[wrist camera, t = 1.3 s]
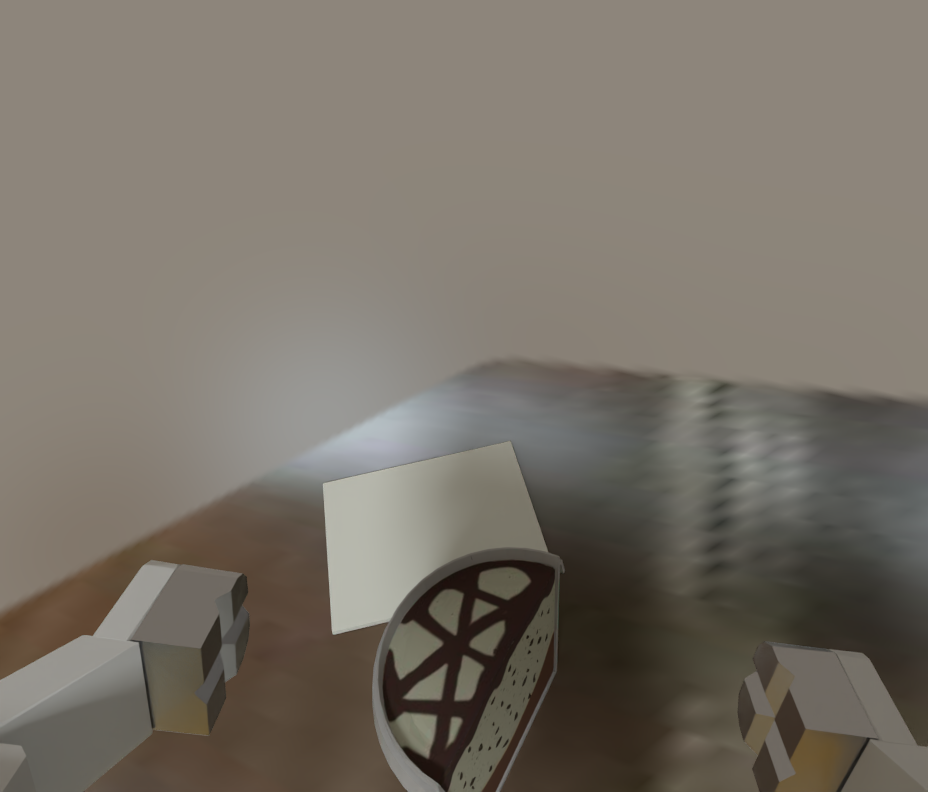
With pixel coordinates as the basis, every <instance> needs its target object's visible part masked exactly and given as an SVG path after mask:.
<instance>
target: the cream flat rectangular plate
mask: <svg viewBox="0 0 928 792" xmlns="http://www.w3.org/2000/svg"><path fill="white" fill-rule="evenodd" d="M323 492H324V508H325V524H326V540H327V556H328V572H329V588H330V604H331V620H332V633H333V635H335V634H339V633H343V632H347V631H351V630H356V629H360V628H364V627H368V626H372V625H377V624H381V623H385V622H389V621H390V619H391V618H392V616H393V614H394V612H395V611H396V609H397V607H398V606H399V605H400V603H401V602H402V601H403V599H404V598H405V597H406V596H407V594H408V593H409V592H410V591H411V590H412V589H413V588H414V587H415V586H416V585H417V584H418V583H419V582H420V581H421V580H422V579H424V578H425V577H426V576H428V575H429V574H430V573H432V572H433V571H434V570H436V569H437V568H439V567H441V566H443V565H445V564H446V563H448V562H450V561H452V560H454V559H457V558H459V557H462V556H465V555H467V554H470V553H474V552H478V551H482V550H486V549H494V548H504V547H514V548H529V549H535V550H541V551H545V552H548V550H547V547H546V544H545V541H544V538H543V535H542V532H541V529H540V526H539V523H538V520H537V517H536V514H535V511H534V508H533V506H532V503H531V500H530V497H529V494H528V491H527V488H526V485H525V482H524V479H523V476H522V473H521V470H520V467H519V464H518V461H517V458H516V455H515V452H514V449H513V447H512V444H511V441H508V442H504V443H499V444H495V445H490V446H486V447H481V448H477V449H473V450H468V451H464V452H459V453H455V454H450V455H446V456H442V457H437V458H433V459H428V460H424V461H419V462H415V463H411V464H406V465H402V466H397V467H393V468H388V469H384V470H380V471H375V472H371V473H366V474H362V475H357V476H353V477H349V478H344V479H340V480H335V481H331V482H326V483H323Z"/></svg>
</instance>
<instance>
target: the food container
mask: <svg viewBox="0 0 928 792" xmlns="http://www.w3.org/2000/svg"><path fill="white" fill-rule="evenodd" d="M564 572H565V569H564V565H563V561H562V559H560V556H558V555H555V554H551V553H548V552H545V551H541V550H535V549H529V548H514V547H504V548H494V549H486V550H482V551H478V552H474V553H470V554H467V555H465V556H462V557H459V558H457V559H454V560H452V561H450V562H448V563H446V564H445V565H443V566H441V567H439V568H437V569H436V570H434V571H433V572H432V573H430V574H429V575H428V576H426V577H425V578H424V579H422V580H421V581H420V582H419V583H418V584H417V585H416V586H415V587H414V588H413V589H412V590H411V591H410V592H409V593H408V594H407V596H406V597H405V598H404V599H403V601H402V602H401V603H400V605H399V606H398V607H397V609H396V611H395V612H394V614H393V616H392V618H391V619H390V621H389V623H388V625H387V627H386V628H385V631H384V633H383V636H382V639H381V641H380V644H379V646H378V650H377V655H376V659H375V664H374V671H373V687H372V703H373V713H374V722H375V728H376V731H377V735H378V738H379V742H380V746H381V748H382V750H383V753H384V755H385V757H386V759H387V761H388V763H389V766H390V768H391V769H392V771H393V772H394V774H395V775H396V776H397V778H398V779H399V781H400V782H401V784H402V785H403V787H404V788H405V789H406V790H407V791H408V792H500V791H501V788H502V786H503V784H504V782H505V780H506V778H507V776H508V774H509V772H510V769H511V767H512V765H513V763H514V761H515V759H516V757H517V755H518V753H519V750H520V748H521V746H522V744H523V742H524V740H525V738H526V736H527V734H528V731H529V729H530V727H531V725H532V723H533V721H534V719H535V717H536V714H537V712H538V710H539V708H540V706H541V704H542V702H543V700H544V698H545V695H546V693H547V691H548V689H549V687H550V685H551V683H552V681H553V679H554V676H555V674H556V672H557V655H558V618H559V581H560V573H563V574H564Z"/></svg>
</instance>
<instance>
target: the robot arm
mask: <svg viewBox="0 0 928 792" xmlns="http://www.w3.org/2000/svg"><path fill="white" fill-rule="evenodd" d="M247 594H248V586H247V577H246V576H245V575H244V574H242V573H235V572H229V571H222V570H216V569H209V568H203V567H197V566H190V565H184V564H182V565H179V564H173V563H166V562H160V561H154V560H151V561H149V562H148V563H146V564H145V565H143V566H142V567H141V569H140V570H139V572H138V573H137V574H136V576H135V577H134V579H133V580H132V581H131V583H130V584H129V586H128V587H127V588H126V590H125V591H124V593H123V594H122V595H121V597H120V598H119V600H118V601H117V603H116V604H115V605H114V607H113V608H112V610H111V611H110V612H109V614H108V615H107V617H106V618H105V619H104V621H103V622H102V624H101V625H100V626H99V628H98V629H97V631H96V632H95V633H94V635H93V636H87V635H82V636H80V637H79V638H77V639H75V640H73V641H71V642H69V643H68V644H66V645H64V646H62V647H60V648H58V649H57V650H55V651H53V652H51V653H49V654H48V655H46V656H44V657H42V658H40V659H38V660H37V661H35V662H33V663H31V664H29V665H27V666H26V667H24V668H22V669H20V670H18V671H16V672H15V673H13V674H11V675H9V676H7V677H5V678H4V679H2V680H0V792H83V791H84V790H85V789H87V788H88V787H89V786H90V785H91V784H93V783H94V782H95V781H96V780H97V779H99V778H100V777H101V776H102V775H103V774H104V773H106V772H107V771H108V770H109V769H110V768H112V767H113V766H114V765H115V764H116V763H118V762H119V761H120V760H121V759H122V758H124V757H125V756H126V755H127V754H128V753H130V752H131V751H132V750H133V749H134V748H136V747H137V746H138V745H139V744H140V743H141V742H143V741H144V740H145V739H146V738H147V737H149V736H150V735H151V734H152V730H160V731H169V732H179V733H188V734H198V735H207V736H209V735H210V733H211V731H212V728H213V726H214V724H215V722H216V719H217V717H218V715H219V713H220V711H221V708H222V706H223V704H224V702H225V699H226V689H225V682H226V681H227V680H229V679H230V678H232V677H233V676H235V675H236V674H237V672H238V670H239V667H240V665H241V663H242V660H243V658H244V654H245V650H246V646H247V642H248V637H249V627H250V622H249V613H248V612H247V610H246V609H245V608H244V607H243V606H242V604H243V602H244V600H245V598H246V596H247ZM753 661H754V664H755V667H756V669H757V671H756V672H754V673H753V674H751V675H750V676H748V677H746V678H745V679H744V681H743V684H742V687H741V690H740V693H739V700H738V718H739V726H740V730H741V733H742V736H743V740H744V742H745V743H746V744H747V745H748V746H749V747H750V748H751V749H752V750H753V751H754V752H755V753H756V754H757V755H758V757H757V759H756V761H755V764H754V766H753V768H752V769H753V772H754V776H755V779H756V782H757V785H758V788H759V791H760V792H928V747H924V746H918V745H917V744H916V742H915V740H914V738H913V736H912V735H911V733H910V731H909V729H908V727H907V726H906V724H905V722H904V720H903V718H902V717H901V715H900V713H899V711H898V709H897V708H896V706H895V704H894V702H893V700H892V699H891V697H890V695H889V693H888V691H887V690H886V688H885V686H884V684H883V682H882V681H881V679H880V677H879V675H878V673H877V672H876V670H875V668H874V666H873V664H872V663H871V661H870V659H869V658H868V657H866V656H865V655H864V654H863V653H858V652H850V651H841V650H833V649H828V650H827V649H823V648H815V647H806V646H798V645H790V644H782V643H773V642H765V641H764V642H763V643H762V644H760V645H759V646H758V647H757V650H756V652H755V654H754V657H753Z"/></svg>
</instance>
